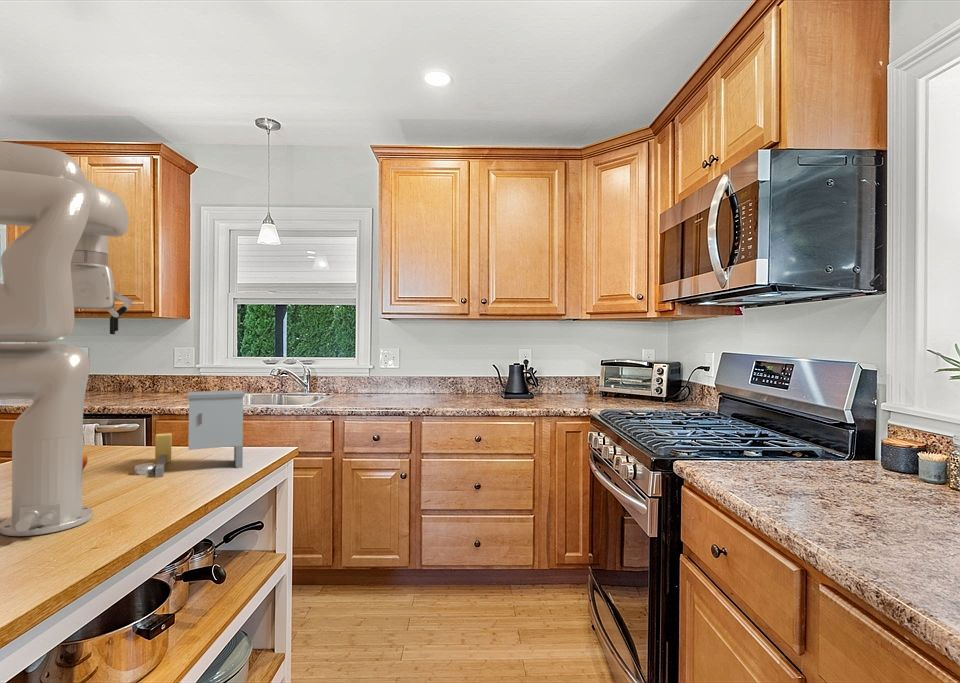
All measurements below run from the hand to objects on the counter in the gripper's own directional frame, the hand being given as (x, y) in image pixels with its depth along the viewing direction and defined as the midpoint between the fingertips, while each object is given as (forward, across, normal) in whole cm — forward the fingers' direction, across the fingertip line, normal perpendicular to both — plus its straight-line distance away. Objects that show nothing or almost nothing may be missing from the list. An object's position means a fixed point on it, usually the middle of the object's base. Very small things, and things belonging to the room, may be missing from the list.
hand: (87, 333), depth 121 cm
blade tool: (+33, +15, +1) cm, 37 cm away
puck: (+34, +12, -3) cm, 36 cm away
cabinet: (+33, +27, -3) cm, 43 cm away
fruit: (+34, -4, +1) cm, 34 cm away
